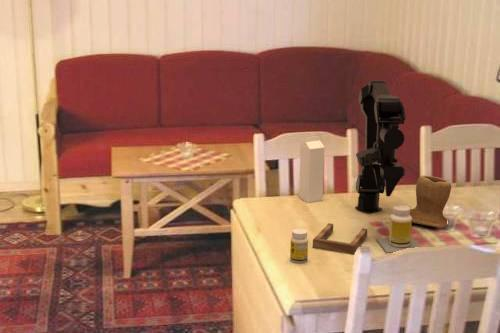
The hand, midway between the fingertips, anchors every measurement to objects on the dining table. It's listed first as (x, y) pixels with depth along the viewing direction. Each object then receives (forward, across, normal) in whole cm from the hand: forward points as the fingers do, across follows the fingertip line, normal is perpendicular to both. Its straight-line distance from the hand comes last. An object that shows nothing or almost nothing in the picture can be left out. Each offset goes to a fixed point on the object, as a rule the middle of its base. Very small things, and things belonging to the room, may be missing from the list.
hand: (383, 191), depth 221 cm
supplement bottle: (+13, +18, -29) cm, 37 cm away
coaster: (+13, +11, +2) cm, 17 cm away
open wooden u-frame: (+13, +7, -14) cm, 21 cm away
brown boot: (+13, -8, +16) cm, 22 cm away
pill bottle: (+13, +11, +2) cm, 17 cm away
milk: (+13, -34, -15) cm, 39 cm away
